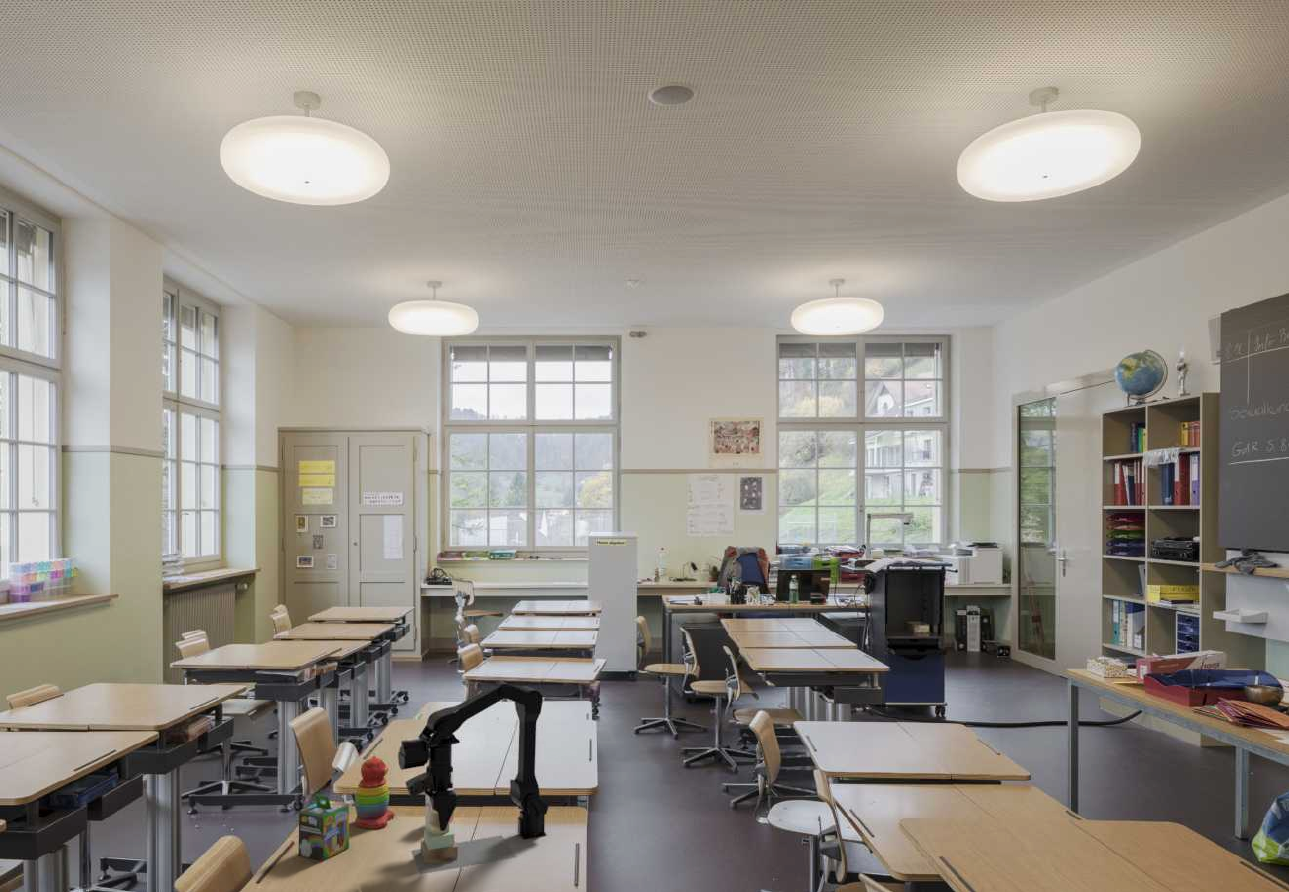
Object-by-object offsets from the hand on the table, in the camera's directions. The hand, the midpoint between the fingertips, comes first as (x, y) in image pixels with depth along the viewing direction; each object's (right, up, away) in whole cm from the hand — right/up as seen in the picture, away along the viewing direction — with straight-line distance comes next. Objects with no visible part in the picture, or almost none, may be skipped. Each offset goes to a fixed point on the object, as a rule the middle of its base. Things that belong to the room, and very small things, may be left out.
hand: (439, 824), depth 212 cm
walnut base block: (0, -8, -1) cm, 8 cm away
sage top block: (0, -5, 0) cm, 5 cm away
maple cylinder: (0, -2, 0) cm, 2 cm away
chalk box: (-31, -9, +3) cm, 33 cm away
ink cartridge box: (-5, -10, +21) cm, 24 cm away
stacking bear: (-25, -10, +23) cm, 36 cm away
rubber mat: (+6, -8, 0) cm, 10 cm away
